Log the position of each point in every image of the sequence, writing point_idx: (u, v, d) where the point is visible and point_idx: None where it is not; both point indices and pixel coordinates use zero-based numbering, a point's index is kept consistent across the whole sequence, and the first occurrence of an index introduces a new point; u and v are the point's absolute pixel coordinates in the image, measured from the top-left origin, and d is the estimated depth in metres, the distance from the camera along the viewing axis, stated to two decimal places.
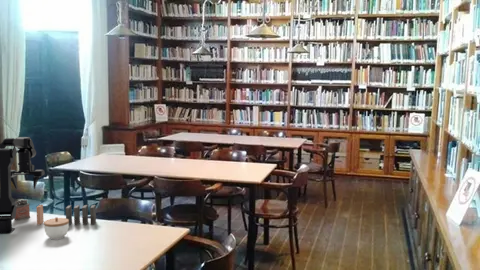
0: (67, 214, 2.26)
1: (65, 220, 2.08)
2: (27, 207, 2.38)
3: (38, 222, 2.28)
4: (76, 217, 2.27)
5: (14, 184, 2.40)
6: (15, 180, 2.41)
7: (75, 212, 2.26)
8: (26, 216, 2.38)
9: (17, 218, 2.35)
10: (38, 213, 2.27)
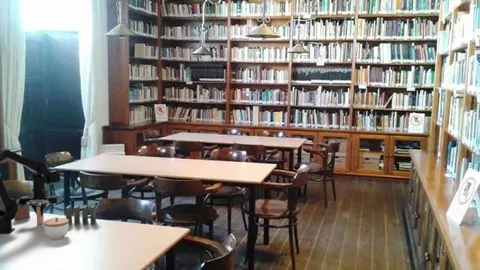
0: (67, 214, 2.26)
1: (65, 220, 2.08)
2: (27, 207, 2.38)
3: (38, 222, 2.28)
4: (76, 217, 2.27)
5: (36, 211, 2.28)
6: None
7: (75, 212, 2.26)
8: (26, 216, 2.38)
9: (17, 218, 2.35)
10: (38, 213, 2.27)
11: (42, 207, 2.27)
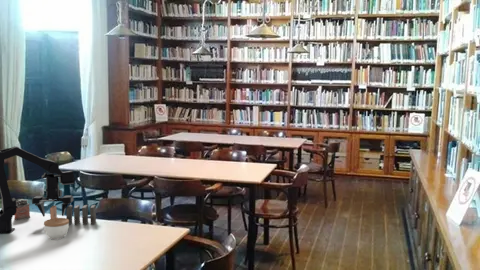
0: (68, 214, 2.26)
1: (65, 220, 2.08)
2: (27, 207, 2.38)
3: None
4: (76, 217, 2.27)
5: (41, 211, 2.26)
6: (42, 207, 2.26)
7: (75, 212, 2.26)
8: (26, 216, 2.38)
9: (17, 218, 2.35)
10: (52, 214, 2.26)
11: (63, 207, 2.26)
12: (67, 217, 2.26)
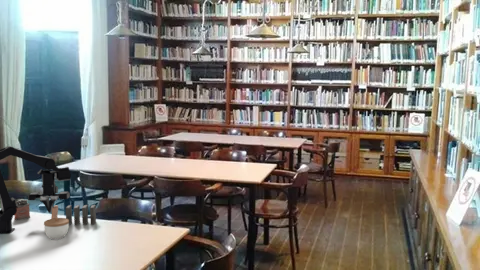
0: (67, 214, 2.26)
1: (65, 220, 2.08)
2: (27, 207, 2.38)
3: None
4: (76, 217, 2.27)
5: (47, 207, 2.26)
6: (48, 203, 2.27)
7: (75, 212, 2.26)
8: (26, 216, 2.38)
9: (17, 218, 2.35)
10: (53, 214, 2.26)
11: (50, 203, 2.25)
12: (67, 217, 2.26)
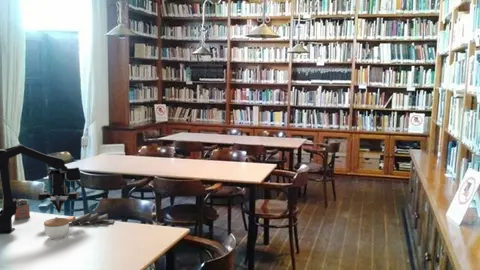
0: (82, 219, 2.27)
1: (65, 220, 2.08)
2: (27, 207, 2.38)
3: None
4: (87, 221, 2.28)
5: (57, 207, 2.26)
6: (57, 203, 2.27)
7: (92, 218, 2.28)
8: (26, 216, 2.38)
9: (17, 218, 2.35)
10: None
11: (60, 203, 2.25)
12: (79, 220, 2.27)
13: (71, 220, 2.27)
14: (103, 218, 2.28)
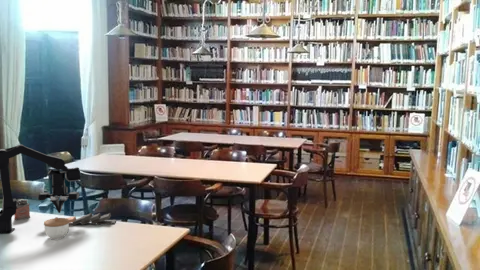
0: (83, 219, 2.27)
1: (65, 220, 2.08)
2: (27, 207, 2.38)
3: None
4: (89, 221, 2.27)
5: (57, 207, 2.26)
6: (58, 203, 2.27)
7: (93, 218, 2.27)
8: (26, 216, 2.38)
9: (17, 218, 2.35)
10: None
11: (60, 203, 2.25)
12: (80, 220, 2.27)
13: (71, 221, 2.27)
14: (105, 218, 2.28)
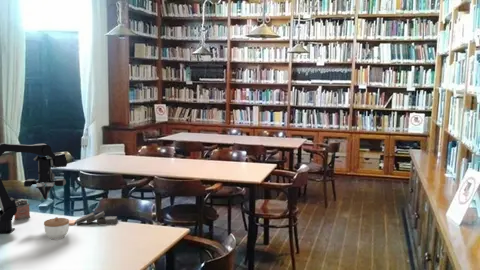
0: (87, 218, 2.28)
1: (65, 220, 2.08)
2: (27, 207, 2.38)
3: None
4: (94, 219, 2.29)
5: (43, 194, 2.25)
6: (44, 190, 2.26)
7: (99, 216, 2.29)
8: (26, 216, 2.38)
9: (17, 218, 2.35)
10: None
11: (46, 190, 2.24)
12: (84, 219, 2.28)
13: (72, 224, 2.27)
14: (111, 220, 2.29)
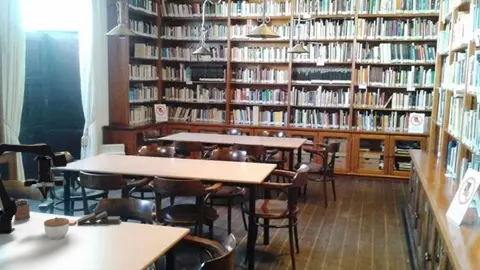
0: (88, 219, 2.29)
1: (65, 220, 2.08)
2: (27, 207, 2.38)
3: None
4: (97, 219, 2.30)
5: (43, 194, 2.25)
6: (44, 190, 2.26)
7: (102, 216, 2.30)
8: (26, 216, 2.38)
9: (17, 218, 2.35)
10: None
11: (46, 190, 2.24)
12: (85, 219, 2.28)
13: (72, 224, 2.27)
14: (115, 220, 2.30)
